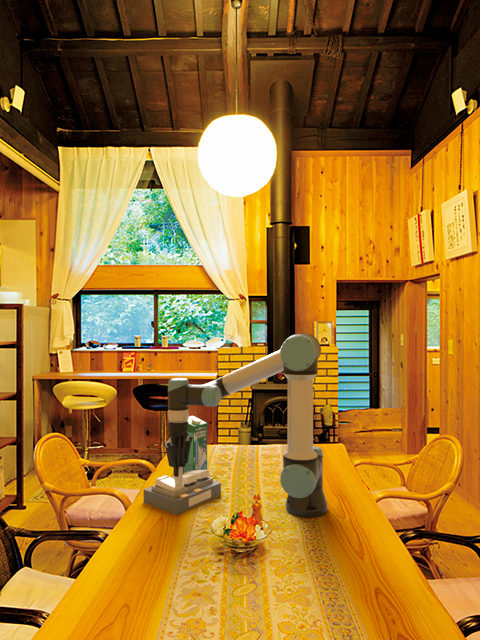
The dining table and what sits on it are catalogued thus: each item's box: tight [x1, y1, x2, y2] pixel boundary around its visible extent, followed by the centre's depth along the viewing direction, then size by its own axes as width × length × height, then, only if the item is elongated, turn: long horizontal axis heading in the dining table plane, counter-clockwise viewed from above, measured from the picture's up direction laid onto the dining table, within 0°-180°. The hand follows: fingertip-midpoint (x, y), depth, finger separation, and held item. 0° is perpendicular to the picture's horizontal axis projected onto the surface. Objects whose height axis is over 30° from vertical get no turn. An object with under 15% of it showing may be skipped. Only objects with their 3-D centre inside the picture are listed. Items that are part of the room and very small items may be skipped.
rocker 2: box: [169, 474, 197, 484], centre depth 181 cm, size 10×5×3 cm, turn 51°
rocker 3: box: [183, 469, 210, 479], centre depth 186 cm, size 10×5×3 cm, turn 51°
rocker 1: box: [155, 475, 184, 493], centre depth 176 cm, size 10×5×3 cm, turn 51°
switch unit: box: [143, 476, 222, 516], centre depth 181 cm, size 18×24×7 cm
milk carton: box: [183, 415, 208, 473], centre depth 211 cm, size 9×9×25 cm
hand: (178, 484), depth 172 cm, fingers closed
